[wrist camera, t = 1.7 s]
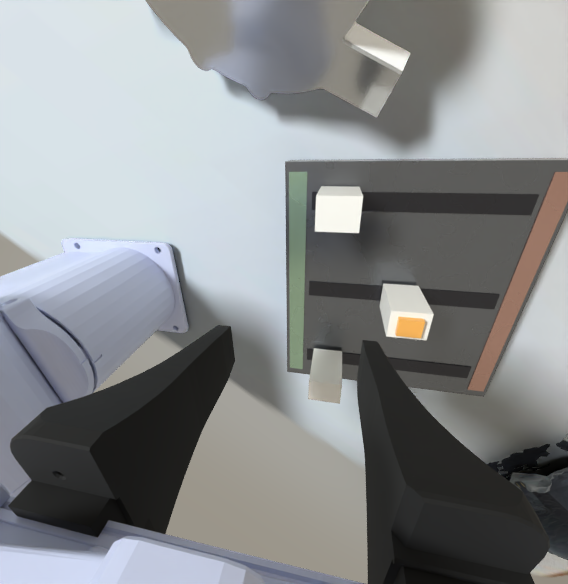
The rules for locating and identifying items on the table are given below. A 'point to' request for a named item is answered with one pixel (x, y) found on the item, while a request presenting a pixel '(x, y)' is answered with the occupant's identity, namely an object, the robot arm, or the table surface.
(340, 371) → the block
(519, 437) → the table surface
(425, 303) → the block
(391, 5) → the table surface
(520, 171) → the grey slider switch panel
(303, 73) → the tabbed white plastic disc
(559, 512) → the electronic device
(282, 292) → the table surface
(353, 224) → the block
